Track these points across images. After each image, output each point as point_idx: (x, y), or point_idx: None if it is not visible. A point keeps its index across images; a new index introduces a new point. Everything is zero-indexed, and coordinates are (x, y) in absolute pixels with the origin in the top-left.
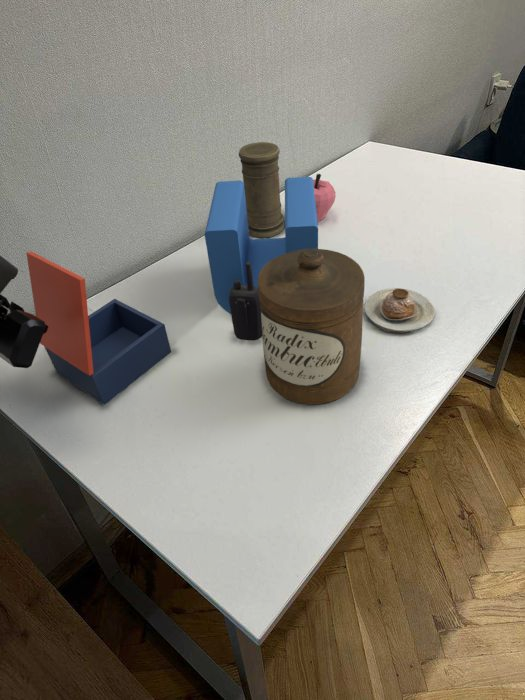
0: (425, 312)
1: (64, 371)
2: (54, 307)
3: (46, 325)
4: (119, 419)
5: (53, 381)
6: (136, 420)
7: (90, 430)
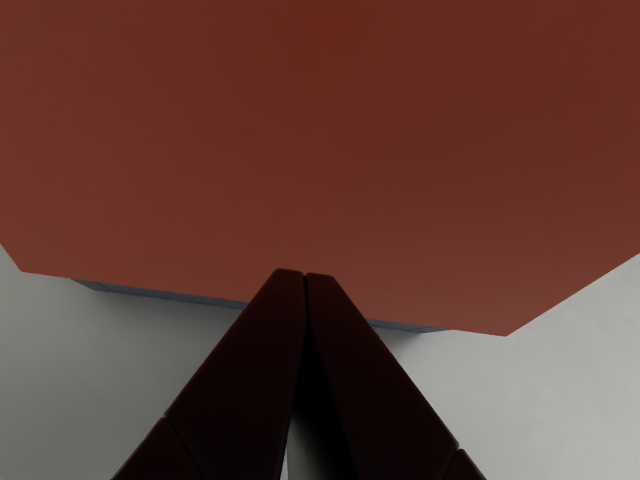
0: None
1: (180, 295)
2: (301, 65)
3: (341, 289)
4: (521, 358)
5: (117, 336)
6: (575, 331)
7: (469, 456)
